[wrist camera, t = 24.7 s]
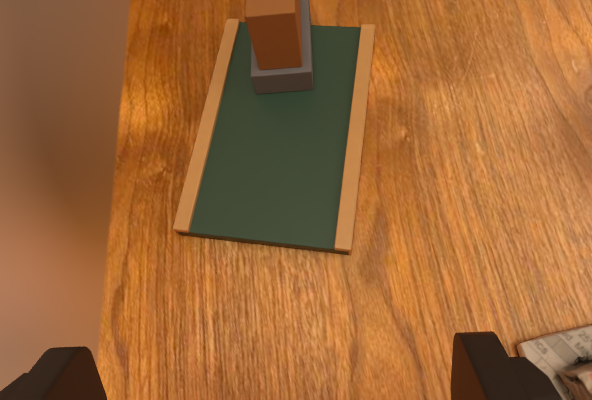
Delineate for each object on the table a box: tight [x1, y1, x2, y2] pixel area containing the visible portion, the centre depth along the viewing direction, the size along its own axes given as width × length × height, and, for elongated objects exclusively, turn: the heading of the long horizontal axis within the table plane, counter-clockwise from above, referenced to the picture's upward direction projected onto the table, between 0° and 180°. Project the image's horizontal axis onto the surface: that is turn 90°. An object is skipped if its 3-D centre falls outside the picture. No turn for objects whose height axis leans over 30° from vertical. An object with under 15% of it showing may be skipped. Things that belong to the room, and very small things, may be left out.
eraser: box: [245, 0, 314, 94], centre depth 34 cm, size 8×5×8 cm, turn 1°
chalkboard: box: [173, 19, 375, 255], centre depth 36 cm, size 13×20×1 cm, turn 172°
